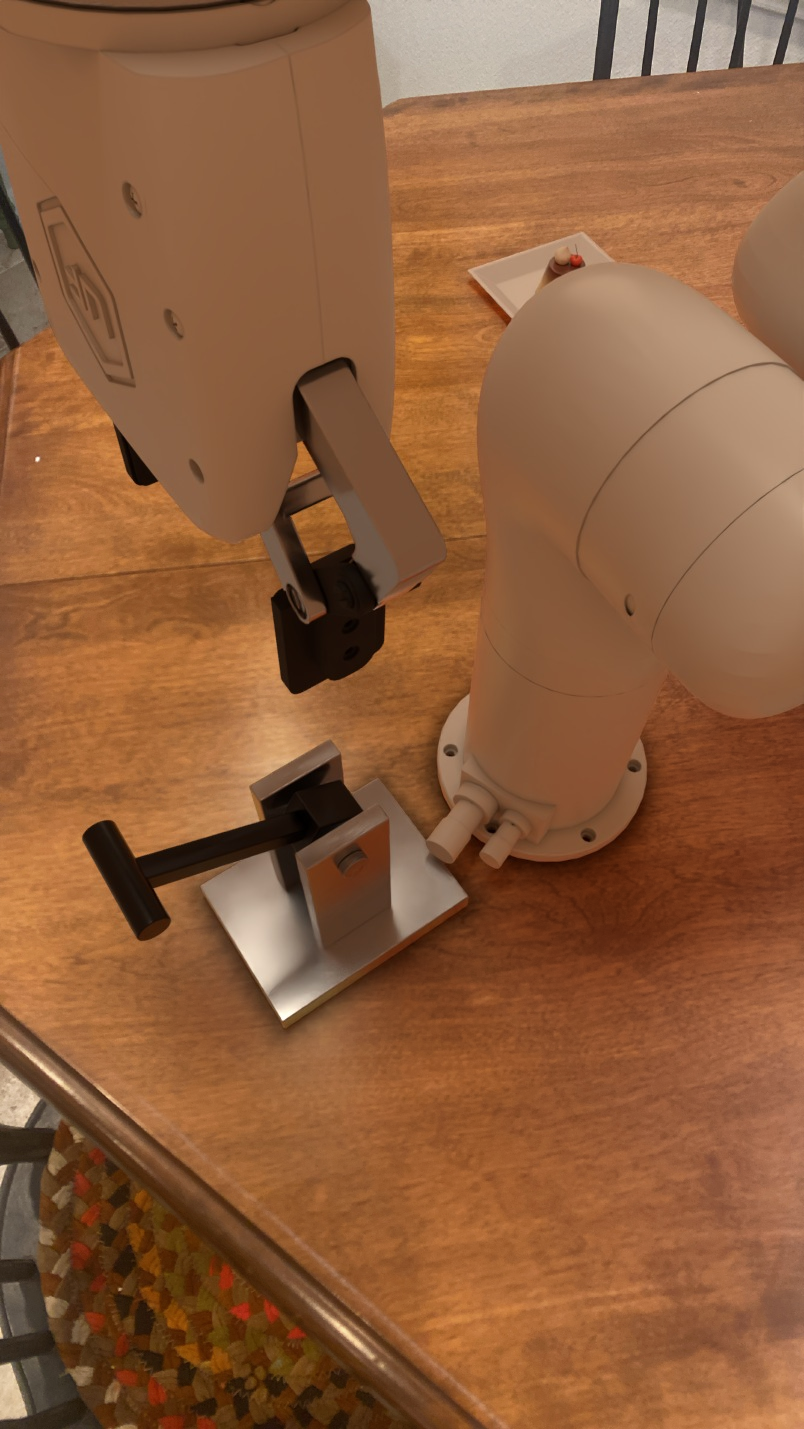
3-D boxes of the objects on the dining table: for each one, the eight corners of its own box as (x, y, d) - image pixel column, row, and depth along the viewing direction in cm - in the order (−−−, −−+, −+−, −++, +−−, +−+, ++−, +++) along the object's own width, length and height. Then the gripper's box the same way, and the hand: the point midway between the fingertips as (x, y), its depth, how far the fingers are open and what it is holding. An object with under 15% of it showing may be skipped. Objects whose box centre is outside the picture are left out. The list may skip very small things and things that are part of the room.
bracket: (284, 1029, 50) (252, 958, 39) (203, 895, 54) (152, 795, 43) (467, 905, 53) (485, 808, 42) (379, 787, 57) (374, 670, 46)
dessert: (660, 317, 80) (674, 265, 76) (540, 362, 77) (548, 310, 73) (580, 242, 85) (590, 189, 81) (466, 281, 83) (469, 228, 78)
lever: (130, 953, 36) (145, 918, 35) (75, 853, 39) (88, 816, 37) (363, 867, 45) (383, 836, 43) (307, 789, 47) (325, 756, 45)
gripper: (-256, -275, 18) (24, 442, 32) (187, 155, 10) (289, 830, 25) (117, -319, 20) (220, 365, 34) (688, 2, 13) (514, 698, 27)
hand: (249, 559), depth 30 cm, fingers open, 9 cm apart
